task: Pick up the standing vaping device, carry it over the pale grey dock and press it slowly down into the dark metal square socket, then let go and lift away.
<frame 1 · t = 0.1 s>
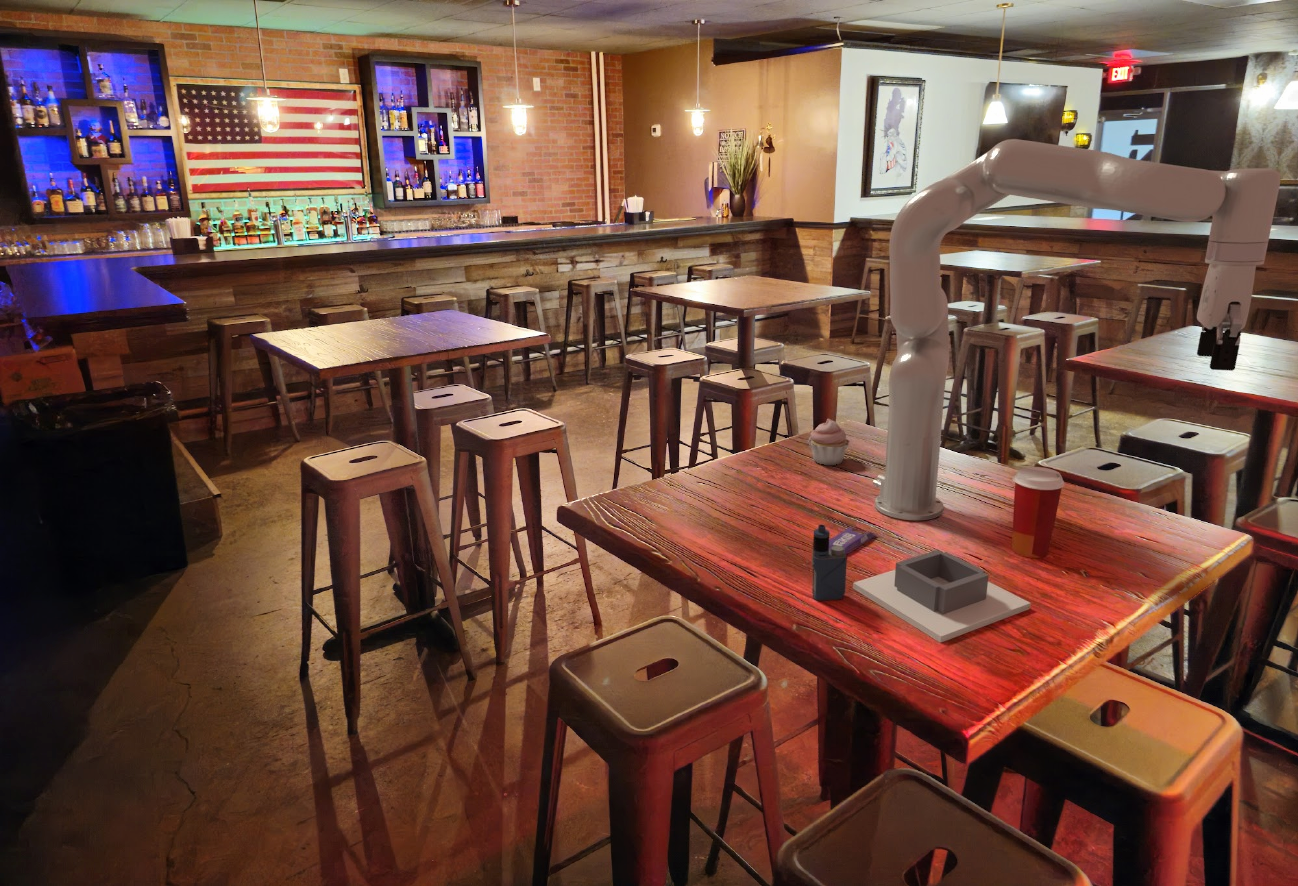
hand: (1214, 362, 131), 31 cm above the table, tool pointing down, fingers open, 9 cm apart
snack package: (847, 547, 145), on the table
paper cup: (1029, 551, 140), on the table
dock: (938, 598, 125), on the table
cupcake: (827, 462, 184), on the table
vaping device: (827, 597, 127), on the table
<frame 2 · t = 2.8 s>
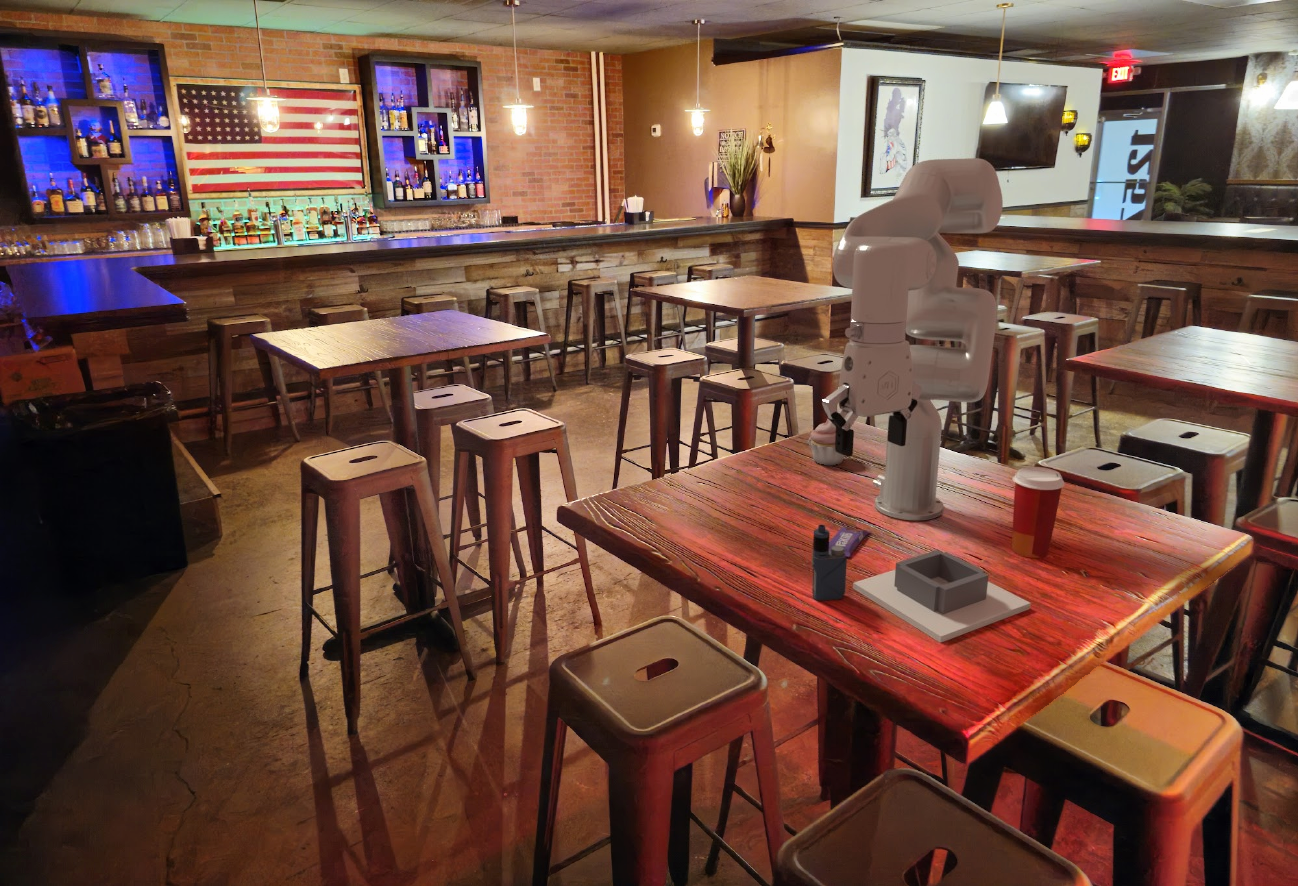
hand: (870, 448, 120), 24 cm above the table, tool pointing down, fingers open, 9 cm apart
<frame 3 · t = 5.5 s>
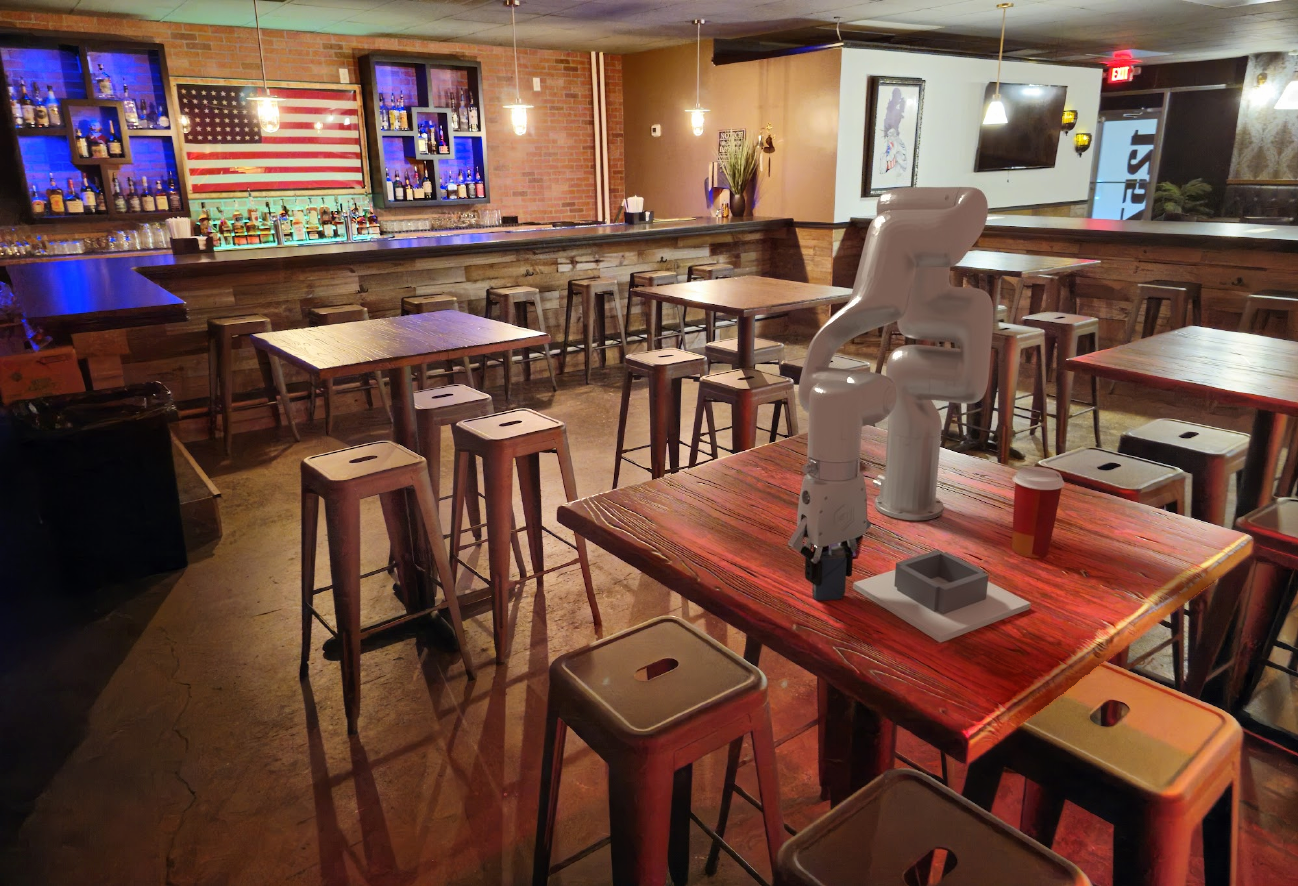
hand: (828, 576, 126), 3 cm above the table, tool pointing down, fingers closed on vaping device, 5 cm apart
vaping device: (827, 597, 127), on the table, touching gripper
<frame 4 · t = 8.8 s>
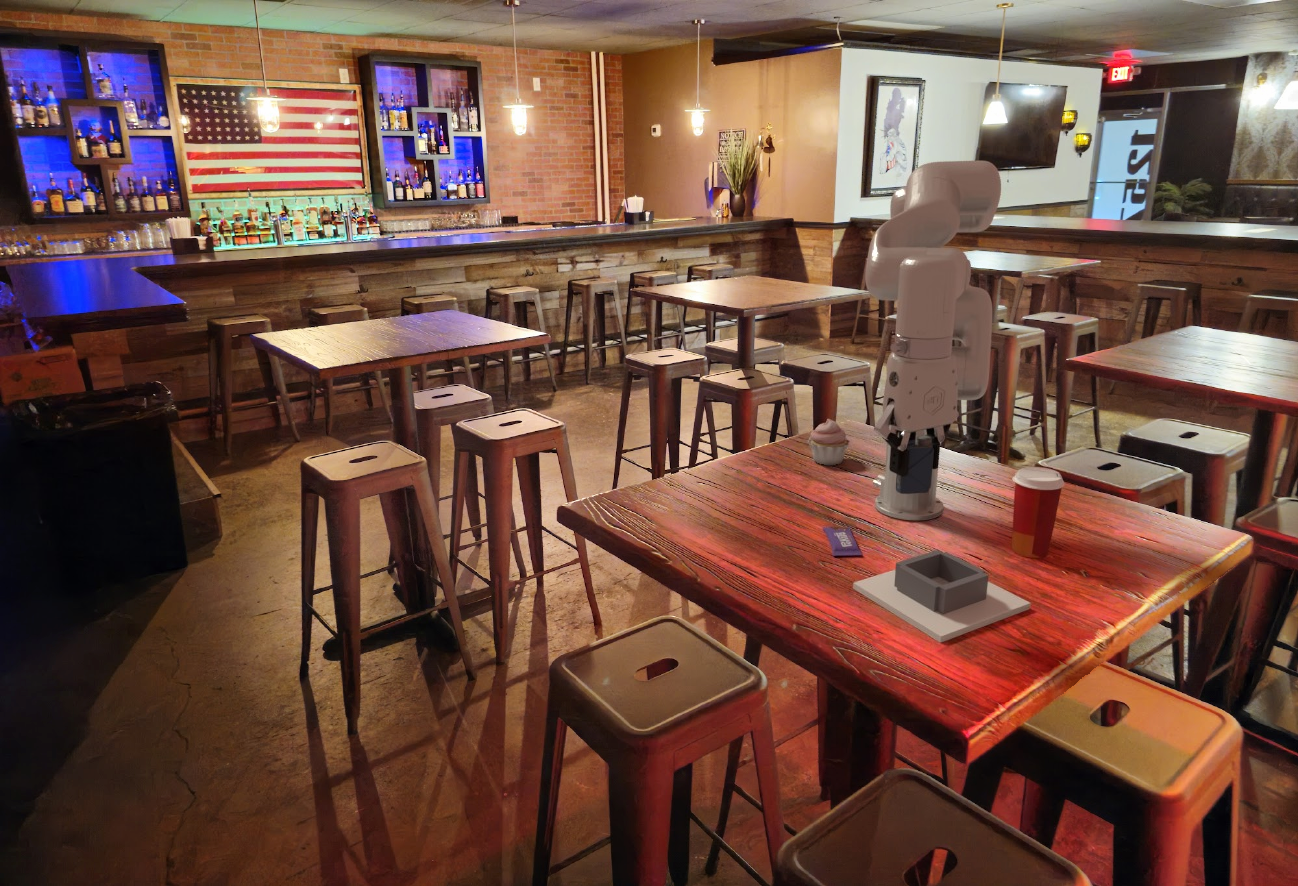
hand: (913, 468, 119), 21 cm above the table, tool pointing down, fingers closed on vaping device, 4 cm apart
vaping device: (912, 491, 121), point 17 cm above the table, touching gripper
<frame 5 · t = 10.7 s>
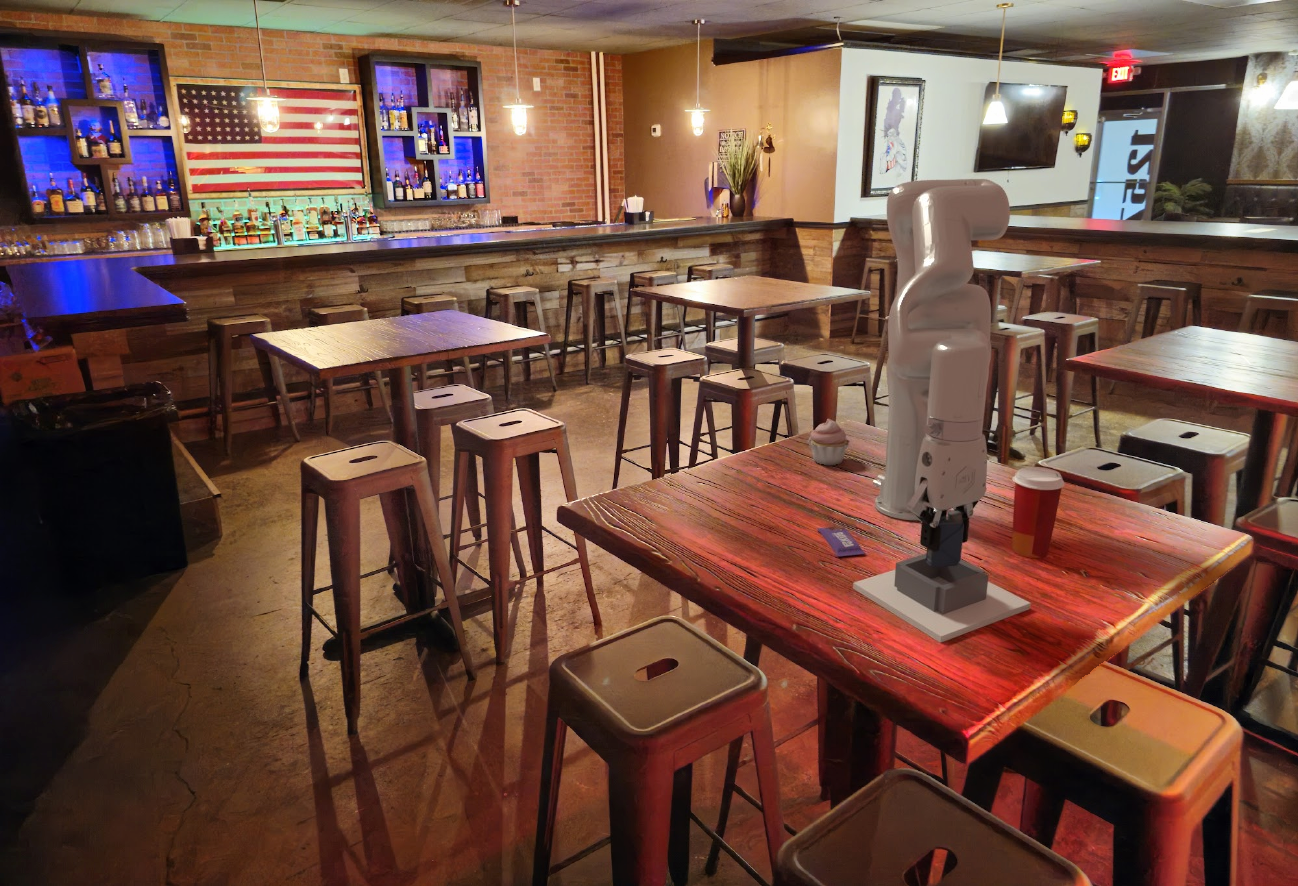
hand: (943, 542, 122), 9 cm above the table, tool pointing down, fingers closed on vaping device, 4 cm apart
vaping device: (942, 564, 124), point 6 cm above the table, touching gripper
when the fingers open (6 cm above the table, at t = 11.7 s): vaping device drops 2 cm, resting on dock.
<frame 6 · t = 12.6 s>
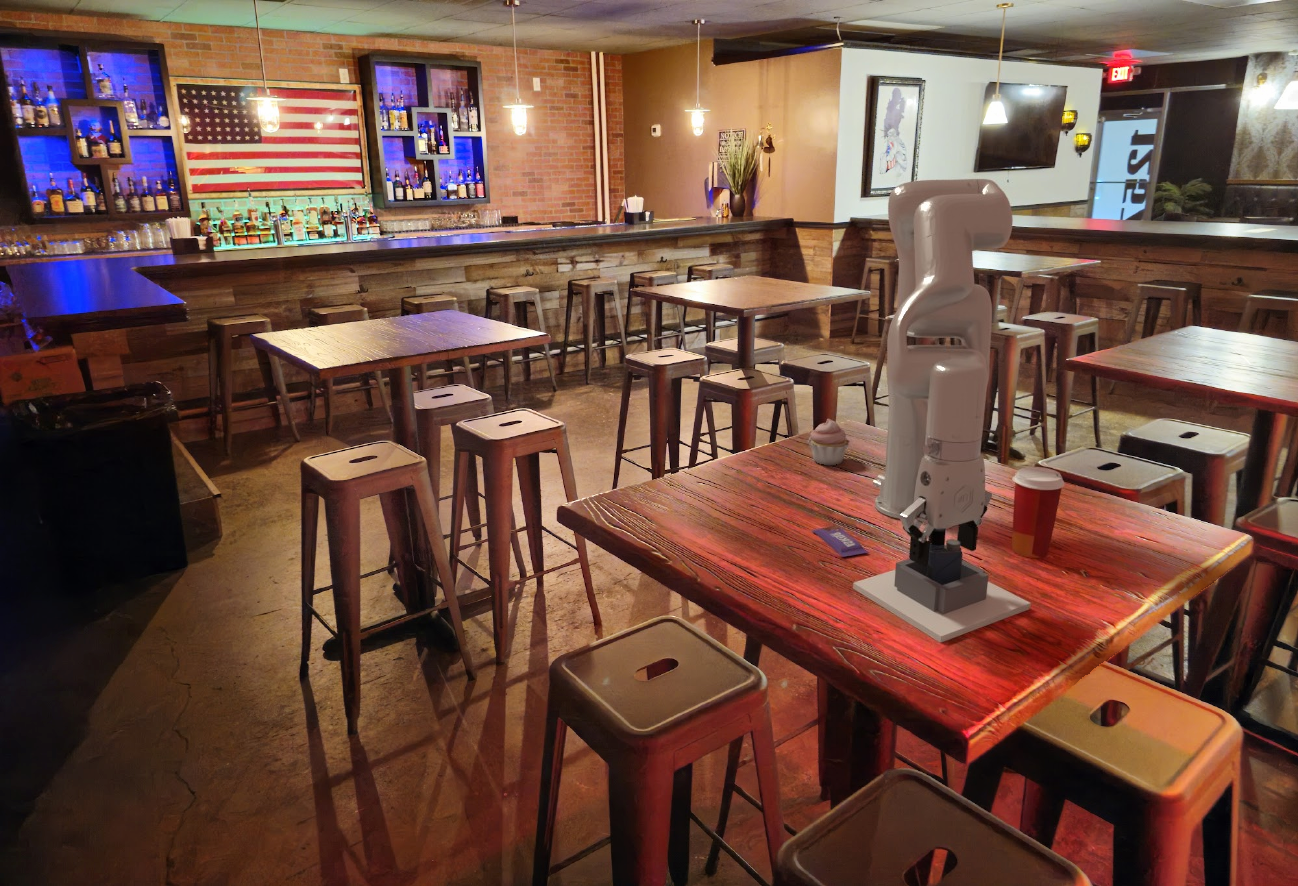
hand: (942, 555, 123), 7 cm above the table, tool pointing down, fingers open, 9 cm apart
vaping device: (941, 592, 125), point 1 cm above the table, touching dock
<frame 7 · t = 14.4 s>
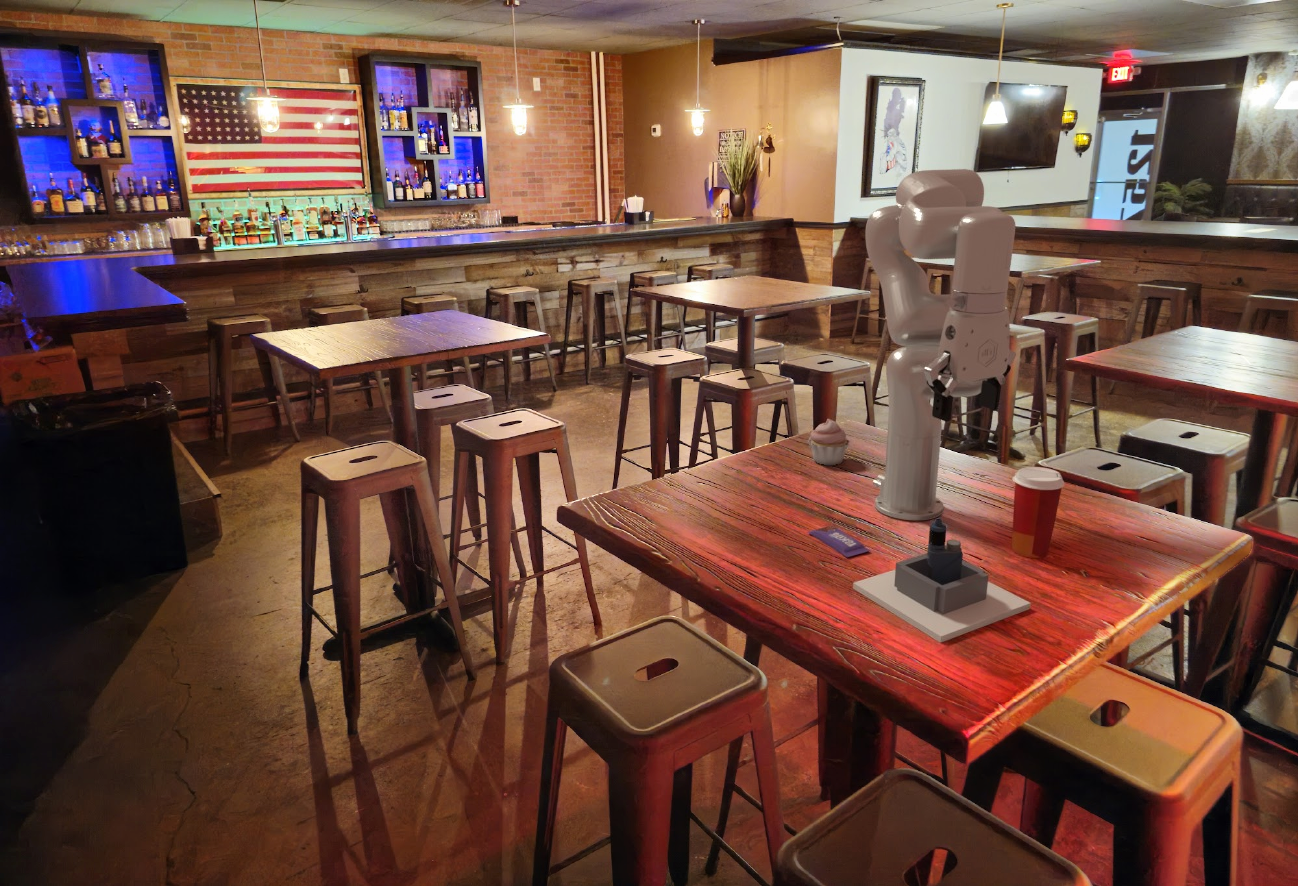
hand: (965, 413, 125), 27 cm above the table, tool pointing down, fingers open, 9 cm apart
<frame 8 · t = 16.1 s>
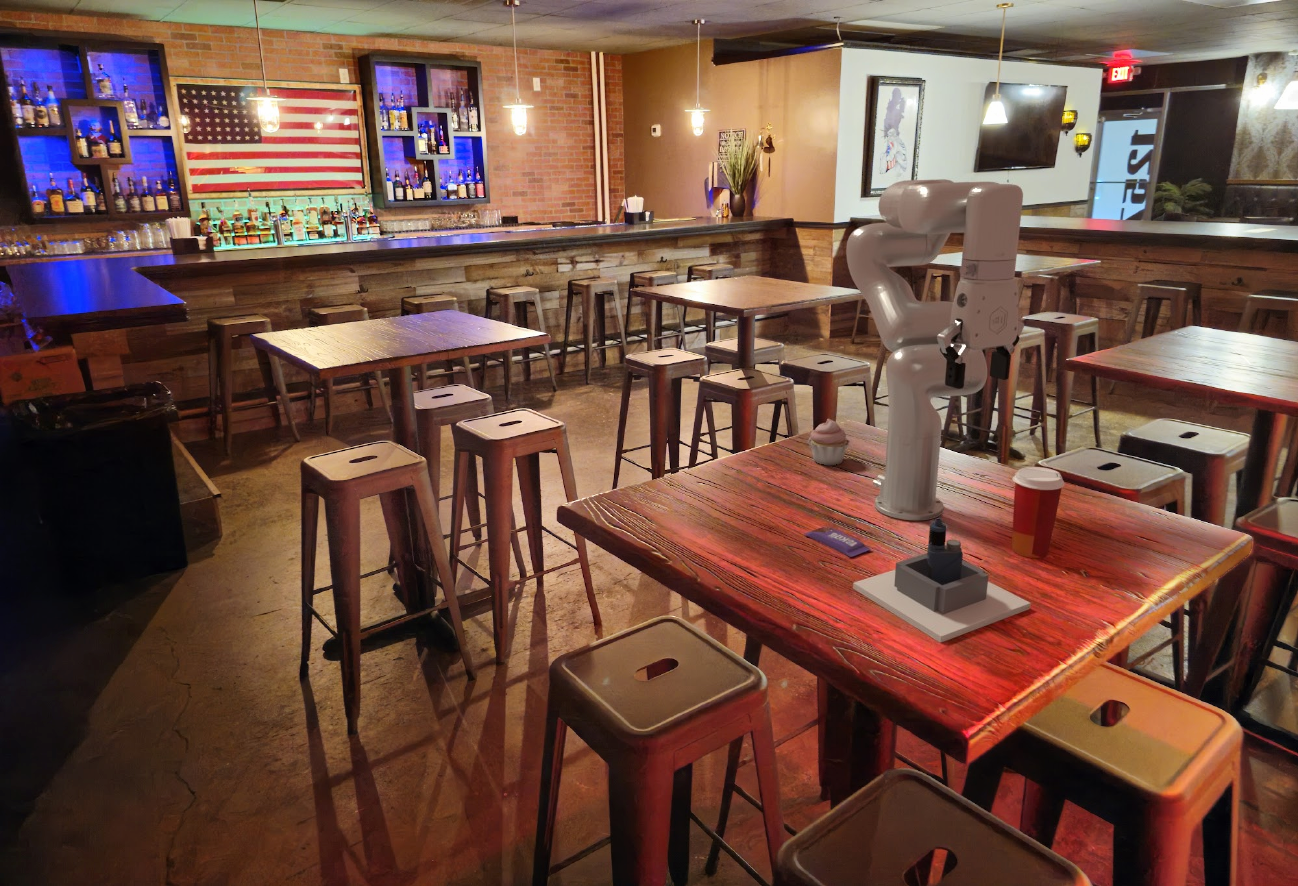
hand: (976, 382, 128), 30 cm above the table, tool pointing down, fingers open, 9 cm apart
at the end: vaping device 0.5 cm off-centre on the dock, point 0.8 cm above the dock's base; vaping device tilted 0°; the gripper is holding nothing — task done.
